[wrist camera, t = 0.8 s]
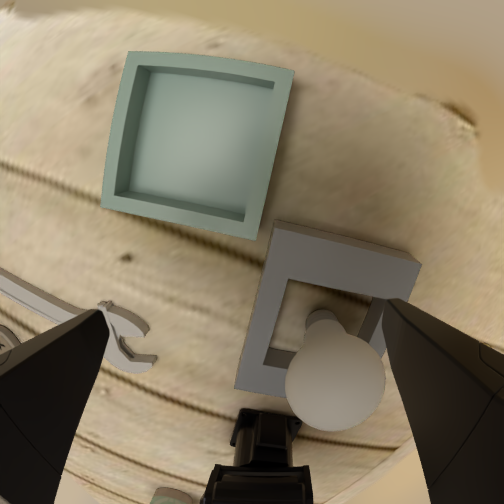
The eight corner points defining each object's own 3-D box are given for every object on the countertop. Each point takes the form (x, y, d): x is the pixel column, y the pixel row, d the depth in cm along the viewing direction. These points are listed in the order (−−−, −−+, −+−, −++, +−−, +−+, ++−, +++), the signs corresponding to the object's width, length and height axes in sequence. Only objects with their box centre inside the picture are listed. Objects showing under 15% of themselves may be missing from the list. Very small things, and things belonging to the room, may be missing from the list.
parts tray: (257, 229, 23) (255, 241, 20) (119, 199, 23) (100, 207, 20) (291, 81, 19) (294, 70, 16) (144, 61, 19) (128, 51, 16)
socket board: (350, 388, 27) (355, 406, 25) (237, 370, 27) (234, 388, 25) (409, 253, 23) (421, 264, 20) (274, 219, 22) (274, 227, 20)
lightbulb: (297, 274, 24) (313, 366, 13) (368, 295, 24) (418, 385, 13) (272, 338, 26) (270, 442, 15) (338, 354, 26) (363, 454, 15)
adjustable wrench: (-21, 270, 27) (-30, 276, 25) (-20, 222, 25) (-31, 226, 23) (150, 371, 28) (144, 382, 27) (164, 322, 26) (158, 332, 25)
